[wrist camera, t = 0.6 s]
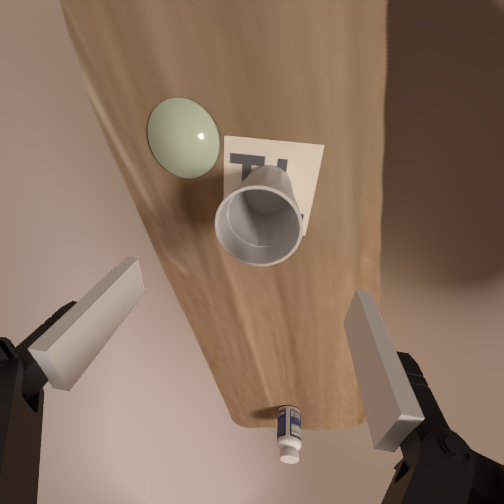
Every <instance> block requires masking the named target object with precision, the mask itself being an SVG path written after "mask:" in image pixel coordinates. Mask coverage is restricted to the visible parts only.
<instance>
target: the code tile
mask: <svg viewBox="0 0 504 504" xmlns="http://www.w3.org/2000/svg"><path fill="white" fill-rule="evenodd" d="M324 146H325V145H318V144H308V143H297V142H287V141H277V140H266V139H256V138H246V137H235V136H225V135H224V199H225V198H226V197H227V196H228V195H229V194H230V193H231V192H232V191H233V190H235V189H236V188H237V187H238V186H239V185H240V184H241V183H242V182H243V181H244V180H245V179H246V178H247V177H248V175H249V174H250V173H251V172H252V171H253V170H254V169H256V168H258V167H260V166H264V165H273V166H277V167H279V168H281V169H282V170H284V171H285V172H286V173H287V174H288V176H289V177H290V180H291V182H292V190H293V194H294V197H295V200H296V202H297V205H298V208H299V211H300V214H301V217H302V221H303V234H302V235H304V236H305V235H306V230H307V226H308V221H309V216H310V212H311V207H312V202H313V197H314V193H315V188H316V183H317V179H318V174H319V169H320V164H321V160H322V155H323V150H324Z"/></svg>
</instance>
